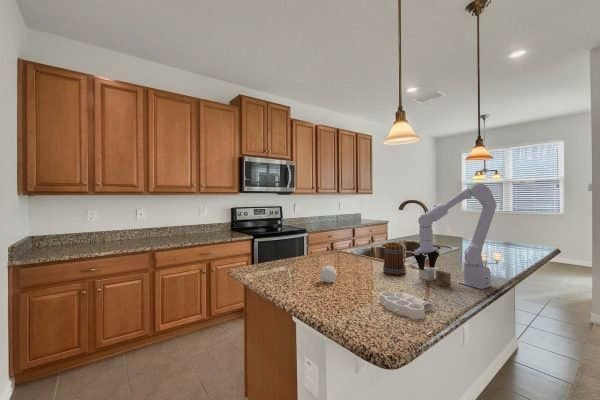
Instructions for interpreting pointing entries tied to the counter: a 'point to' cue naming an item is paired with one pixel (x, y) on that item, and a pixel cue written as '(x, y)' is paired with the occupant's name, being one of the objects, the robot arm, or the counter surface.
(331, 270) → the ball
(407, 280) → the counter surface
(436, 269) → the door
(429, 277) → the white small block
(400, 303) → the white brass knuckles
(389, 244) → the mug
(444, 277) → the wall
